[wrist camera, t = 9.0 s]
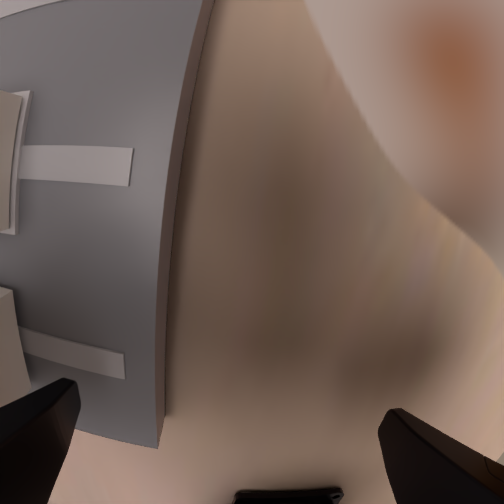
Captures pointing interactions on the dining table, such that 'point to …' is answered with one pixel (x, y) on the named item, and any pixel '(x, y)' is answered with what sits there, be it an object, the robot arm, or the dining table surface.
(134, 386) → the switch panel
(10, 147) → the slider middle
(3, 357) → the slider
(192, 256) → the dining table surface
